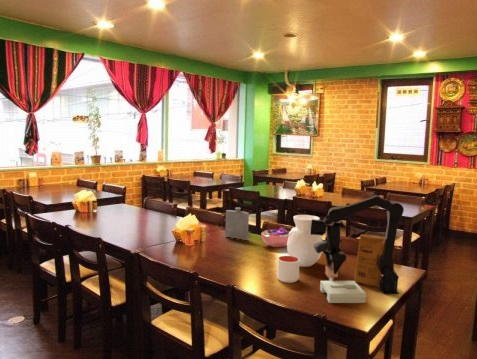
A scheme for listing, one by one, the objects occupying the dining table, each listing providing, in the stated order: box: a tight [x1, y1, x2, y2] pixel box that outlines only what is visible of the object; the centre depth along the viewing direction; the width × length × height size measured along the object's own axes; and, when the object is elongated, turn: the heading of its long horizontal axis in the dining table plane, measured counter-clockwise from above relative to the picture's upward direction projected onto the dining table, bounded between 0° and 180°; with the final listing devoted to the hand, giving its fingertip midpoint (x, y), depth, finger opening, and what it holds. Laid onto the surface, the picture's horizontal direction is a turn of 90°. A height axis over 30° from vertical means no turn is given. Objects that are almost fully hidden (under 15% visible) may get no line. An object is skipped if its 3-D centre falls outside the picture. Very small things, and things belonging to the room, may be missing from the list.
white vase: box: [286, 214, 324, 268], centre depth 211 cm, size 19×18×25 cm
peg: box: [324, 264, 339, 281], centre depth 181 cm, size 4×4×9 cm
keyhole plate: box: [319, 280, 367, 304], centre depth 171 cm, size 15×14×4 cm
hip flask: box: [225, 206, 250, 241], centre depth 258 cm, size 16×4×20 cm, turn 62°
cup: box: [276, 255, 300, 284], centre depth 188 cm, size 10×10×10 cm
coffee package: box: [353, 234, 385, 288], centre depth 187 cm, size 10×12×22 cm
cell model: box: [260, 226, 291, 248], centre depth 244 cm, size 17×20×11 cm
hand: (331, 270), depth 181 cm, fingers open, 9 cm apart
